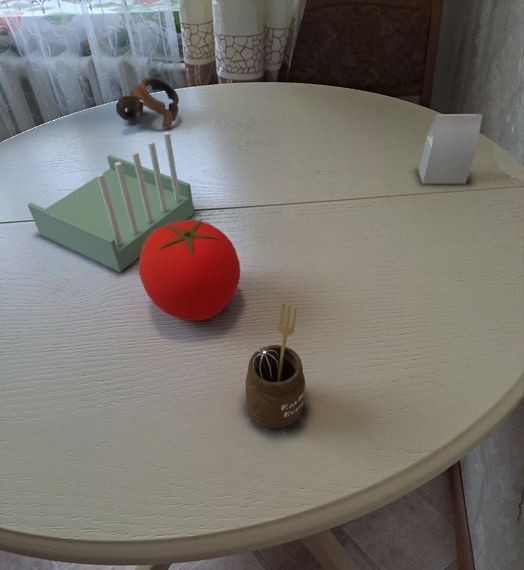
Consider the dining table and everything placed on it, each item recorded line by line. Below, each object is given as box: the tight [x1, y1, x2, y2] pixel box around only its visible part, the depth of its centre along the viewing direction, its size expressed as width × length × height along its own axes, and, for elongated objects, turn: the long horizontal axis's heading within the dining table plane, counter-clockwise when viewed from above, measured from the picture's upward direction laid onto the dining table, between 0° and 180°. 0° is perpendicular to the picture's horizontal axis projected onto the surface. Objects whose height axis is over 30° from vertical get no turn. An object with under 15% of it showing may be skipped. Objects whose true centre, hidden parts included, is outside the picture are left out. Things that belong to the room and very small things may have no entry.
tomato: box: [138, 218, 241, 321], centre depth 59 cm, size 12×12×10 cm
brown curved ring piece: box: [115, 77, 180, 129], centre depth 93 cm, size 12×10×8 cm
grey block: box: [418, 113, 483, 185], centre depth 77 cm, size 4×7×10 cm, turn 89°
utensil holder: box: [245, 301, 306, 429], centre depth 48 cm, size 6×6×12 cm
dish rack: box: [27, 131, 195, 273], centre depth 69 cm, size 16×16×13 cm
